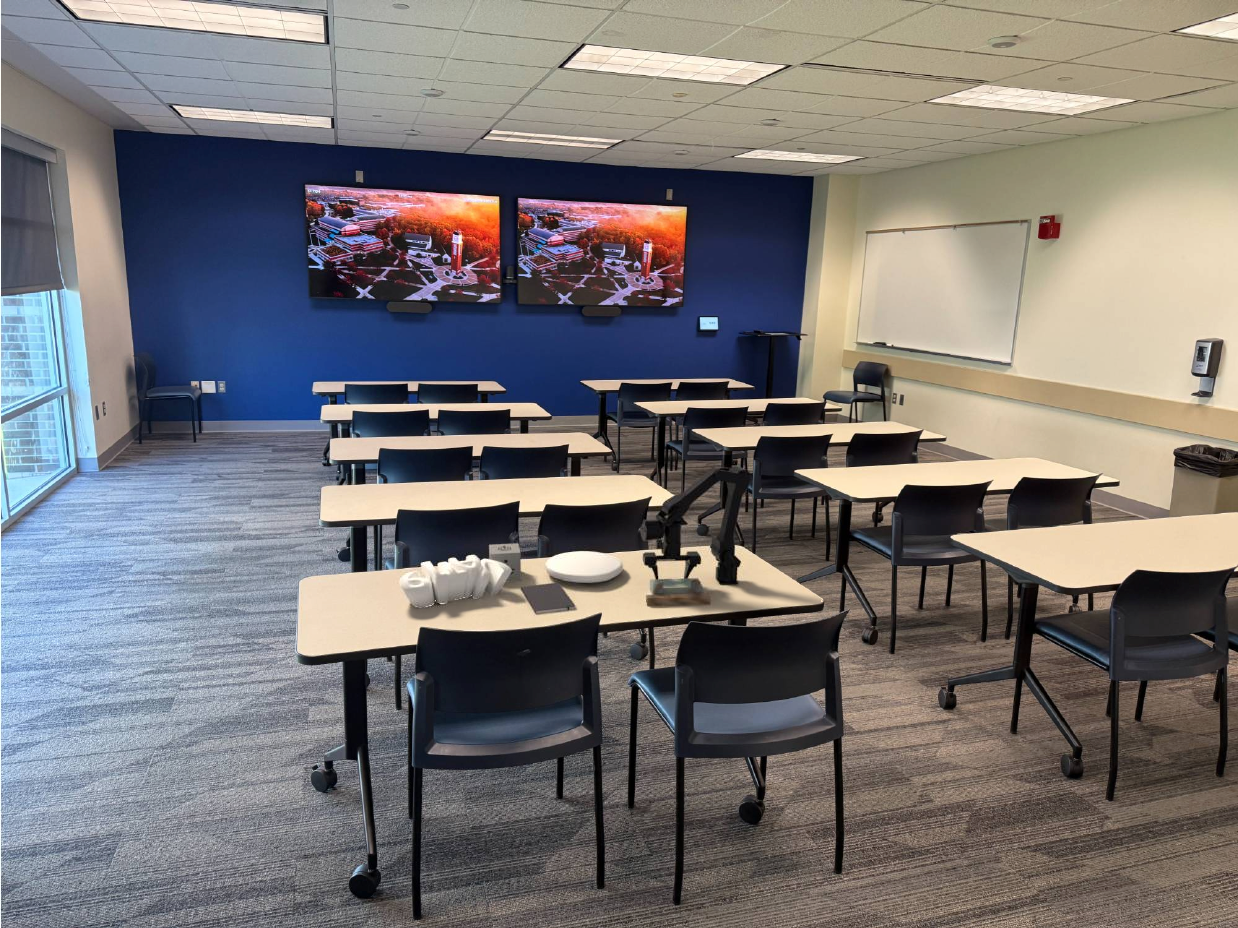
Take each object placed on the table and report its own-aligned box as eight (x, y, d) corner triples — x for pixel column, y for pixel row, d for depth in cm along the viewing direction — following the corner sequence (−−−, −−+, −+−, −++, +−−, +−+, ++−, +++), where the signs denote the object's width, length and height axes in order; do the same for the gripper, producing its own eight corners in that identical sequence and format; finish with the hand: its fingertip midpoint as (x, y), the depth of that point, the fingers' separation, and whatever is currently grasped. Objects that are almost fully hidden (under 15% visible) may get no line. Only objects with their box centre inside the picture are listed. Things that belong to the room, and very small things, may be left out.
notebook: (520, 590, 265) (535, 615, 246) (520, 586, 265) (535, 610, 245) (558, 586, 269) (575, 610, 250) (558, 582, 269) (575, 605, 249)
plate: (549, 547, 293) (623, 549, 293) (549, 565, 294) (623, 567, 293) (541, 565, 265) (622, 567, 265) (540, 585, 266) (621, 587, 265)
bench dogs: (706, 597, 260) (706, 579, 259) (710, 604, 255) (710, 586, 254) (644, 598, 258) (645, 581, 257) (647, 605, 253) (647, 587, 251)
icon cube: (489, 572, 281) (489, 544, 279) (518, 570, 283) (518, 543, 280) (490, 582, 271) (490, 554, 269) (520, 580, 273) (520, 552, 271)
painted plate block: (697, 589, 268) (698, 578, 267) (702, 598, 260) (702, 586, 260) (649, 590, 267) (650, 579, 266) (653, 599, 259) (653, 588, 258)
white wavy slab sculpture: (499, 580, 273) (498, 550, 271) (515, 596, 259) (514, 565, 257) (393, 595, 258) (392, 564, 256) (404, 614, 244) (402, 581, 241)
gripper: (695, 530, 274) (693, 573, 277) (640, 531, 272) (639, 574, 275) (702, 540, 263) (700, 585, 266) (645, 541, 261) (644, 587, 264)
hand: (671, 582), depth 268 cm, fingers open, 9 cm apart
